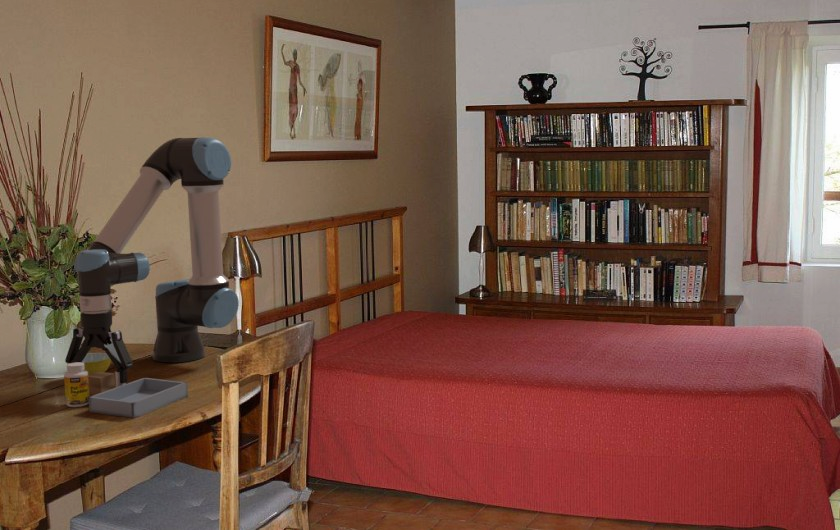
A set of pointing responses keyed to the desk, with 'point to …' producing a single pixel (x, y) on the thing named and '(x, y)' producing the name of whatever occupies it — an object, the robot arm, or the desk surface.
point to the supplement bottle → (76, 385)
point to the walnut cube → (101, 382)
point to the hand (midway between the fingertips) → (100, 393)
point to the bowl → (96, 362)
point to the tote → (138, 397)
